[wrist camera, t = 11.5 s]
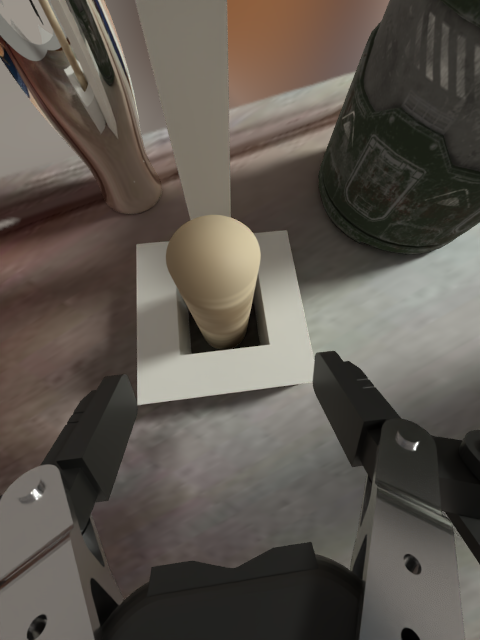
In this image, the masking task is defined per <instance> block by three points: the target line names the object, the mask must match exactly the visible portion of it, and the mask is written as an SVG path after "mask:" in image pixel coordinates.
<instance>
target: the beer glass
mask: <svg viewBox="0 0 480 640" xmlns="http://www.w3.org/2000/svg"><path fill="white" fill-rule="evenodd" d="M0 58H1V60H2V61H3V63H4V64H5V66H6V67H7V69H8V70H9V72H10V73H11V75H12V76H13V78H14V79H15V80H16V82H17V83H18V85H19V86H20V87H21V89H22V90H23V91H24V93H25V94H26V95H27V97H28V98H29V100H30V101H31V102H32V103H33V105H34V106H35V107H36V108H37V110H38V111H39V112H40V113H41V114H42V115H43V117H44V118H45V119H46V120H47V121H48V123H49V124H50V125H51V126H52V127H53V128H54V129H55V130H56V132H57V133H58V134H59V135H60V136H61V137H62V139H63V140H65V142H66V143H67V144H68V145H69V146H70V147H71V148H72V150H73V151H74V152H75V153H76V154H77V155H78V156H79V157H80V159H81V160H82V161H83V162H84V163H85V164H86V166H87V167H88V168H89V170H90V171H91V173H92V174H93V176H94V178H95V179H96V182H97V184H98V186H99V189H100V191H101V194H102V196H103V198H104V200H105V202H106V203H107V205H108V206H109V207H111V208H112V209H113V210H115V211H117V212H119V213H123V214H137V213H141V212H144V211H146V210H148V209H150V208H151V207H153V206H154V205H155V204H156V203H157V202H158V200H159V198H160V196H161V193H162V184H161V181H160V178H159V176H158V175H157V173H156V171H155V169H154V168H153V166H152V164H151V163H150V161H149V159H148V156H147V154H146V151H145V147H144V144H143V139H142V134H141V128H140V123H139V117H138V112H137V106H136V101H135V96H134V91H133V87H132V83H131V78H130V74H129V70H128V67H127V64H126V60H125V57H124V54H123V50H122V47H121V44H120V41H119V38H118V35H117V32H116V30H115V27H114V24H113V21H112V18H111V15H110V13H109V10H108V7H107V5H106V2H105V0H0Z"/></svg>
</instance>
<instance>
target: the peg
mask: <svg viewBox="0 0 480 640" xmlns="http://www.w3.org/2000/svg"><path fill="white" fill-rule="evenodd" d="M260 259H261V253H260V247H259V244H258V241H257V239H256V237H255V236H254V234H253V233H252V231H251V230H250V229H249V228H248V227H247V226H246V225H244V224H243V223H241V222H240V221H238V220H236V219H233V218H231V217H227V216H222V215H206V216H201V217H197V218H195V219H192V220H190V221H188V222H187V223H185V224H184V225H182V226H181V227H180V228H179V229H178V230H177V231H176V232H175V233H174V234H173V236H172V237H171V239H170V241H169V243H168V246H167V250H166V264H167V268H168V271H169V273H170V275H171V277H172V279H173V281H174V283H175V285H176V286H177V288H178V290H179V292H180V294H181V296H182V298H183V299H184V301H185V303H186V305H187V307H188V309H189V311H190V312H191V314H192V316H193V318H194V320H195V322H196V324H197V325H198V327H199V329H200V331H201V333H202V335H203V337H204V338H205V340H206V341H207V342H208V344H210V345H211V346H213V347H214V348H217V349H222V350H226V349H231V348H234V347H236V346H237V345H239V344H240V343H241V342H242V340H243V339H244V337H245V335H246V331H247V326H248V321H249V316H250V311H251V306H252V301H253V296H254V291H255V285H256V280H257V275H258V270H259V265H260Z"/></svg>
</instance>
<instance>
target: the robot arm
mask: <svg viewBox="0 0 480 640" xmlns="http://www.w3.org/2000/svg"><path fill="white" fill-rule="evenodd" d="M313 388H314V391H315V394H316V396H317V398H318V400H319V402H320V404H321V406H322V408H323V410H324V412H325V414H326V416H327V418H328V420H329V422H330V424H331V426H332V428H333V430H334V432H335V434H336V436H337V438H338V440H339V442H340V444H341V446H342V448H343V450H344V452H345V454H346V456H347V458H348V460H349V462H350V464H351V466H352V467H356V466H364V468H365V470H366V472H367V476H366V481H365V487H364V494H363V500H362V506H361V513H360V519H359V525H358V531H357V536H356V540H355V545H354V549H353V554H352V559H351V565H350V570H349V569H347V568H346V567H344V566H343V565H341V564H339V563H337V562H336V561H334V560H332V559H329V558H326V557H324V556H321V555H316V554H315V553H314V550H313V546H312V543H311V542H307V543H301V544H295V545H288V546H282V547H276V548H272V549H270V550H268V551H267V552H265V553H263V554H261V555H259V556H257V557H255V558H254V559H252V560H250V561H248V562H246V563H244V564H243V565H241V566H239V567H237V568H225V567H220V566H215V565H210V564H206V563H201V562H196V561H188V562H181V563H175V564H169V565H162V566H156V567H152V569H151V575H150V581H149V582H148V583H146V584H144V585H143V586H142V587H140V588H139V589H137V590H136V591H134V592H133V593H132V594H131V595H130V596H128V597H127V598H126V599H125V600H123V597H122V594H121V592H120V590H119V587H118V585H117V583H116V581H115V580H114V578H113V576H112V573H111V571H110V568H109V565H108V562H107V559H106V556H105V553H104V550H103V547H102V544H101V541H100V538H99V535H98V532H97V529H96V526H95V523H94V520H93V517H92V515H91V512H92V509H93V507H94V504H95V502H101V501H108V500H109V497H110V494H111V491H112V488H113V485H114V482H115V479H116V476H117V473H118V470H119V467H120V464H121V461H122V458H123V455H124V452H125V449H126V446H127V443H128V440H129V437H130V434H131V431H132V428H133V425H134V422H135V419H136V416H137V410H138V406H137V400H136V397H135V395H134V392H133V389H132V387H131V384H130V381H129V378H128V376H127V375H126V374H122V375H113V376H106V377H104V378H103V380H102V382H101V383H100V385H99V387H98V389H97V390H93V391H91V392H90V393H89V394H88V395H87V396H86V397H84V398H83V399H82V400H81V401H80V403H79V404H78V406H77V408H76V409H75V411H74V412H73V415H72V416H71V417H70V419H69V420H68V422H67V425H65V427H64V429H63V430H62V432H61V433H60V435H59V437H58V438H57V440H56V441H55V443H54V445H53V446H52V448H51V449H50V451H49V453H48V454H47V456H46V457H45V459H44V461H43V462H42V464H41V465H40V466H38V467H36V468H33V469H31V470H29V471H28V472H26V473H24V474H23V475H22V476H20V477H19V478H18V479H17V480H15V481H14V482H13V483H12V484H11V485H10V486H9V488H8V489H7V490H6V491H5V493H4V494H3V495H1V496H0V640H465V632H464V623H463V614H462V604H461V595H460V586H459V577H458V568H457V558H456V549H455V540H454V532H453V527H452V524H451V522H452V523H453V525H454V526H455V528H456V529H457V531H458V532H459V534H460V535H461V537H462V538H463V540H464V541H465V543H466V544H467V546H468V547H469V549H470V550H471V552H472V553H473V555H474V556H475V558H476V559H477V561H478V562H479V564H480V430H474V431H470V432H468V433H467V434H466V436H465V438H464V440H463V441H461V440H455V439H448V438H442V437H435V436H431V435H430V434H429V433H428V432H427V431H426V430H424V429H423V428H422V427H420V426H419V425H417V424H415V423H413V422H411V421H408V420H404V419H401V418H400V417H399V415H398V414H397V413H396V412H395V410H394V409H393V408H392V407H391V406H390V404H389V403H388V402H387V401H386V400H385V398H384V397H383V396H382V395H381V393H380V392H379V391H378V390H377V389H376V387H375V388H374V385H373V384H372V382H371V381H370V380H368V378H367V376H366V375H365V374H364V373H363V372H362V370H361V369H360V368H358V367H357V366H355V365H354V364H352V363H351V362H349V361H346V362H343V360H342V359H341V358H340V356H339V355H338V354H337V353H336V352H335V351H328V352H319V353H316V355H315V362H314V372H313ZM442 511H445V513H446V514H447V516H448V517H449V519H450V520H451V522H450V520H449V519H448V518H447V517H445V516H443V514H442Z"/></svg>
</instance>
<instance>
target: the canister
mask: <svg viewBox="0 0 480 640" xmlns="http://www.w3.org/2000/svg"><path fill="white" fill-rule="evenodd" d="M319 190H320V194H321V197H322V201H323V206H324V208H325V210H326V212H327V214H328V216H329V217H330V218H331V220H332V221H333V222H334V223H335V225H336V226H337V227H338V228H339V229H340V230H342V231H343V232H344V233H345V234H346V235H347V236H349V237H350V238H352V239H353V240H355V241H357V242H358V243H361V242H364V243H366V244H369V245H371V246H373V247H376V248H378V249H382V250H386V251H390V252H394V253H404V254H418V253H425V252H429V251H432V250H436V249H439V248H441V247H443V246H445V245H446V244H448V243H450V242H452V241H453V240H454V239H456V238H457V237H458V236H460V235H462V234H463V233H465V232H467V231H468V230H469V229H471V228H472V227H474V226H475V225H477V224H478V223H479V222H480V0H390V1H389V4H388V6H387V9H386V12H385V14H384V16H383V19H382V21H381V22H380V23H379V24H378V26H377V27H376V28H375V29H374V30H373V31H372V33H371V35H370V37H369V39H368V42H367V44H366V46H365V49H364V52H363V54H362V57H361V59H360V62H359V65H358V67H357V70H356V73H355V75H354V78H353V81H352V83H351V86H350V88H349V91H348V94H347V96H346V99H345V102H344V104H343V107H342V110H341V112H340V115H339V117H338V120H337V123H336V125H335V128H334V131H333V133H332V136H331V139H330V141H329V144H328V147H327V149H326V152H325V154H324V159H323V161H322V164H321V167H320V171H319Z"/></svg>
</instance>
